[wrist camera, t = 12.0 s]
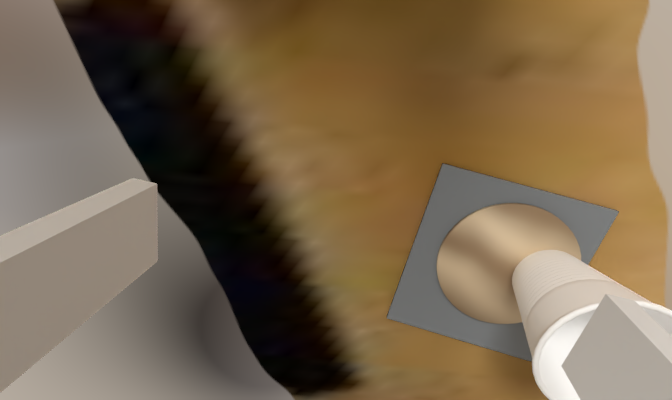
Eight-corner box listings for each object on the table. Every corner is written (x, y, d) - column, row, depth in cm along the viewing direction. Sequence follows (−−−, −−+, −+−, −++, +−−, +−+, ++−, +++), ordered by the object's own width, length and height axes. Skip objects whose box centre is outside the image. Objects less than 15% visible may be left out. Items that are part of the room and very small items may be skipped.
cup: (607, 311, 33) (704, 415, 23) (498, 326, 35) (542, 426, 25) (598, 218, 30) (704, 288, 20) (481, 241, 33) (523, 314, 22)
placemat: (442, 163, 32) (443, 164, 32) (616, 210, 31) (619, 211, 31) (386, 315, 38) (386, 318, 38) (529, 358, 37) (531, 361, 37)
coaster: (464, 186, 32) (465, 188, 31) (604, 225, 31) (608, 227, 31) (419, 299, 36) (419, 302, 36) (541, 335, 36) (543, 339, 35)
